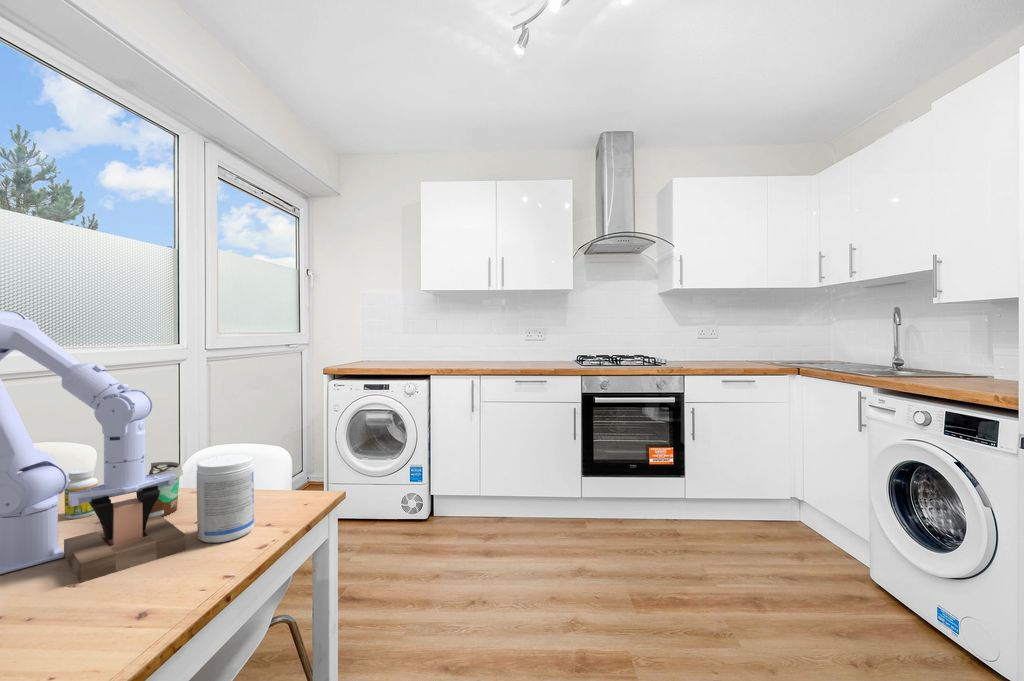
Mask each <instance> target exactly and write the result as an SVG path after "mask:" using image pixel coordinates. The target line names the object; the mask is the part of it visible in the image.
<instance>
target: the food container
mask: <svg viewBox="0 0 1024 681" xmlns="http://www.w3.org/2000/svg"><path fill="white" fill-rule="evenodd" d="M169 473H172V474H174V475H175V485H172V486H162V487H158V490H160V495H159V497H158V499H157V501H156V502H155V504H154V506H153V508H152V510H151V512H150V515H149V518H151V517H155V516H159V515H161V516H162V517H163V518H165V517H164V516H166V517H168V516H167V515H169V516H171V515H172V514H171V513H173V512H174V513H176V512H177V510H178V500H179V488H180V477H182V476H183V475H184V471H183V467H182V466H181V463H179V462H175V461H158V462H157V461H156V462H151V463H150V470H149V472H148V474H145V477H148V476H156V475H163V474H169ZM175 511H176V512H175ZM174 513H173V514H174ZM170 514H171V515H170Z"/></svg>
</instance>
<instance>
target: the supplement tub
mask: <svg viewBox="0 0 1024 681" xmlns="http://www.w3.org/2000/svg"><path fill="white" fill-rule="evenodd" d="M196 469H197V470H196V516H197V518H196V519H197V520H196V522H197V523H196V524H197V525H196V526H197V528H196V529H197V538H198V540H200V541H201V542H203V543H209V544H210V543H215V544H216V543H217V544H219V543H224V542H231V541H233V540H236V539H239V538H242V537H243V536H245V535H248V534H249V533H251V531H252V530H253V529H254V526H255V496H254V495H255V494H254V489H255V485H254V484H255V483H254V482H255V481H254V463H253V457H252V456H251V455H248V454H226V455H225V454H224V455H218V456H214V457H210V458H209V457H208V458H205V459H203V460H201V461H199V462H198V463H197V464H196Z"/></svg>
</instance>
